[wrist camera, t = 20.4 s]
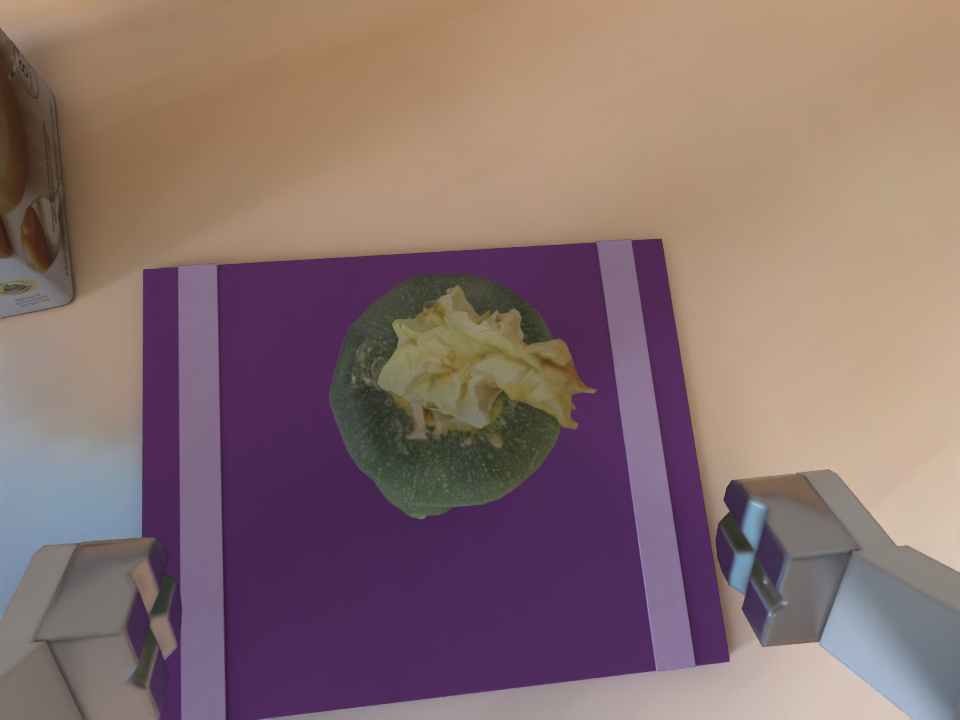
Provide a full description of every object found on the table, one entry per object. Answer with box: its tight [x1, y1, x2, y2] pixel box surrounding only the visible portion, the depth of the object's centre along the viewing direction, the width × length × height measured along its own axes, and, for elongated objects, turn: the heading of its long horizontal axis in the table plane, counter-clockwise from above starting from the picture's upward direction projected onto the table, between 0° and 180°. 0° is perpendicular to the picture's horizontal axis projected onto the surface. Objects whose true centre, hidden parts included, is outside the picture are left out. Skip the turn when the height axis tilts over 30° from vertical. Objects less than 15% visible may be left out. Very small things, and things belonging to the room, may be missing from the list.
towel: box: [142, 239, 730, 720], centre depth 27 cm, size 20×16×1 cm
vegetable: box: [329, 274, 597, 519], centre depth 17 cm, size 4×4×20 cm
